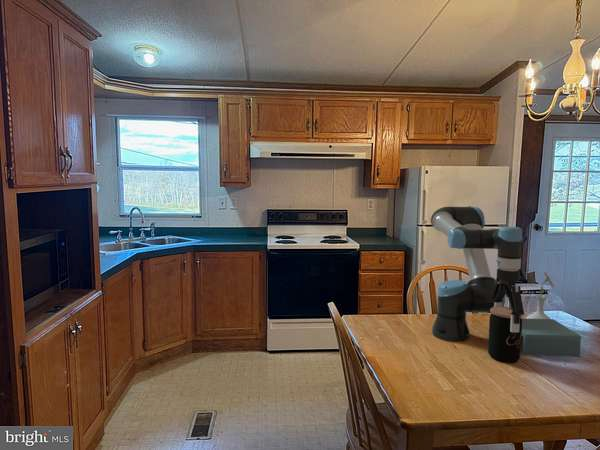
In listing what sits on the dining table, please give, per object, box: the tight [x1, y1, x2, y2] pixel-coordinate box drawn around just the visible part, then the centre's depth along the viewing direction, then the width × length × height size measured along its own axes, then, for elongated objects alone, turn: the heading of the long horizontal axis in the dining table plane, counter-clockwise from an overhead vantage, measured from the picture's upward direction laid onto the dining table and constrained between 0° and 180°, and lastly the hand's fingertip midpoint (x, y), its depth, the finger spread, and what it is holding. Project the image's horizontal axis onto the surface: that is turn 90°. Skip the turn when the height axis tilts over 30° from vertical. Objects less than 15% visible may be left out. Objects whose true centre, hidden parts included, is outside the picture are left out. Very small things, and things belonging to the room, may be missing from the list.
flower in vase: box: [525, 271, 555, 319], centre depth 175 cm, size 13×11×25 cm
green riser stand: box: [521, 317, 582, 357], centre depth 153 cm, size 20×18×8 cm
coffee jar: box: [487, 306, 523, 364], centre depth 142 cm, size 11×11×18 cm
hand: (505, 325), depth 141 cm, fingers open, 13 cm apart
